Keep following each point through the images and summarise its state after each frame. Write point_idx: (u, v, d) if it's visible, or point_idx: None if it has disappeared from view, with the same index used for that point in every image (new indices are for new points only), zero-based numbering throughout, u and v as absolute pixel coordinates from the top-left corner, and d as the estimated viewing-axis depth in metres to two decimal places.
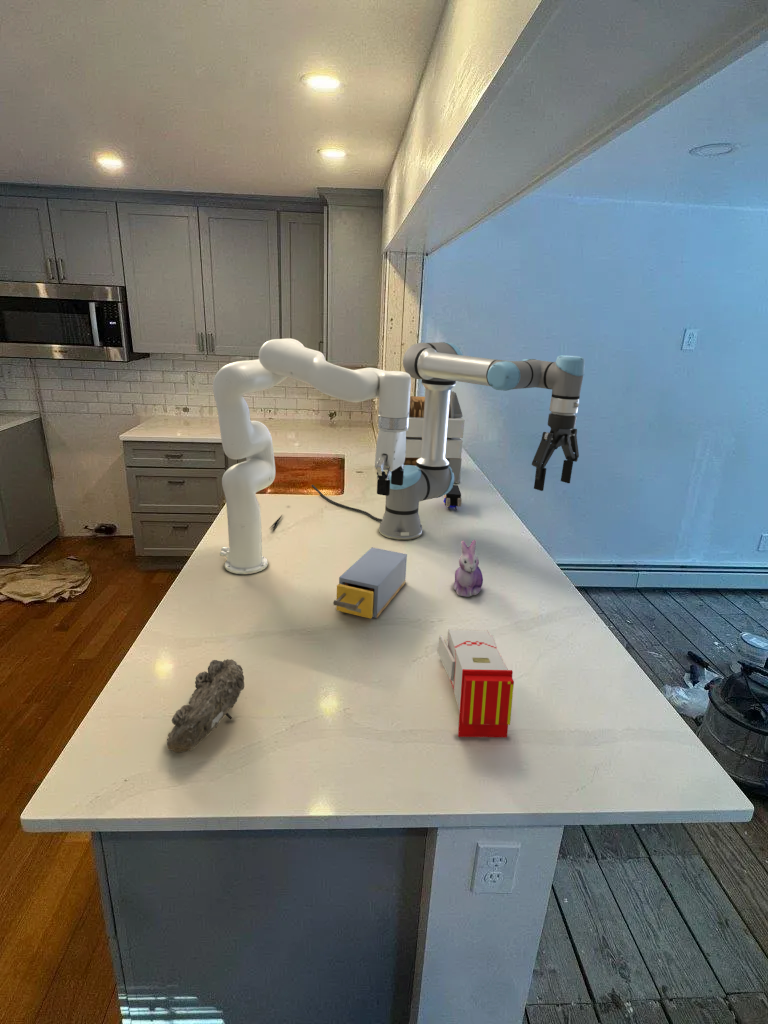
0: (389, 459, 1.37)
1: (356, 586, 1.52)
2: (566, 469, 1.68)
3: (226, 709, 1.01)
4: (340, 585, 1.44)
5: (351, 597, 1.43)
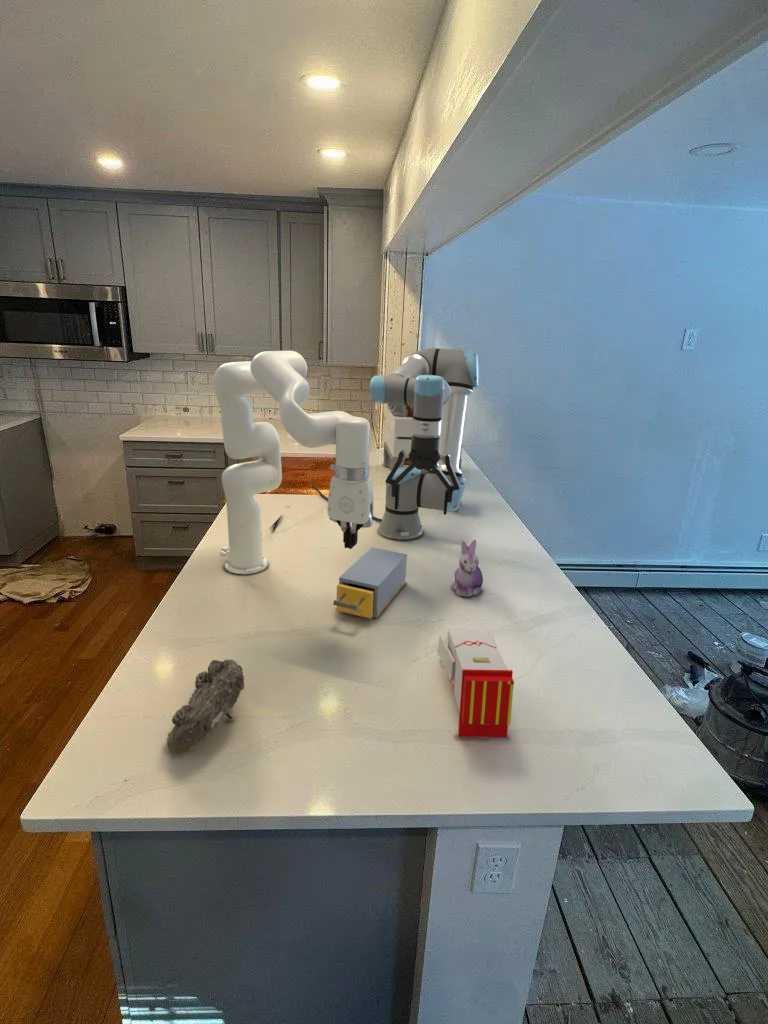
0: (373, 506, 1.31)
1: (356, 586, 1.52)
2: None
3: (226, 709, 1.01)
4: (340, 585, 1.44)
5: (351, 597, 1.43)
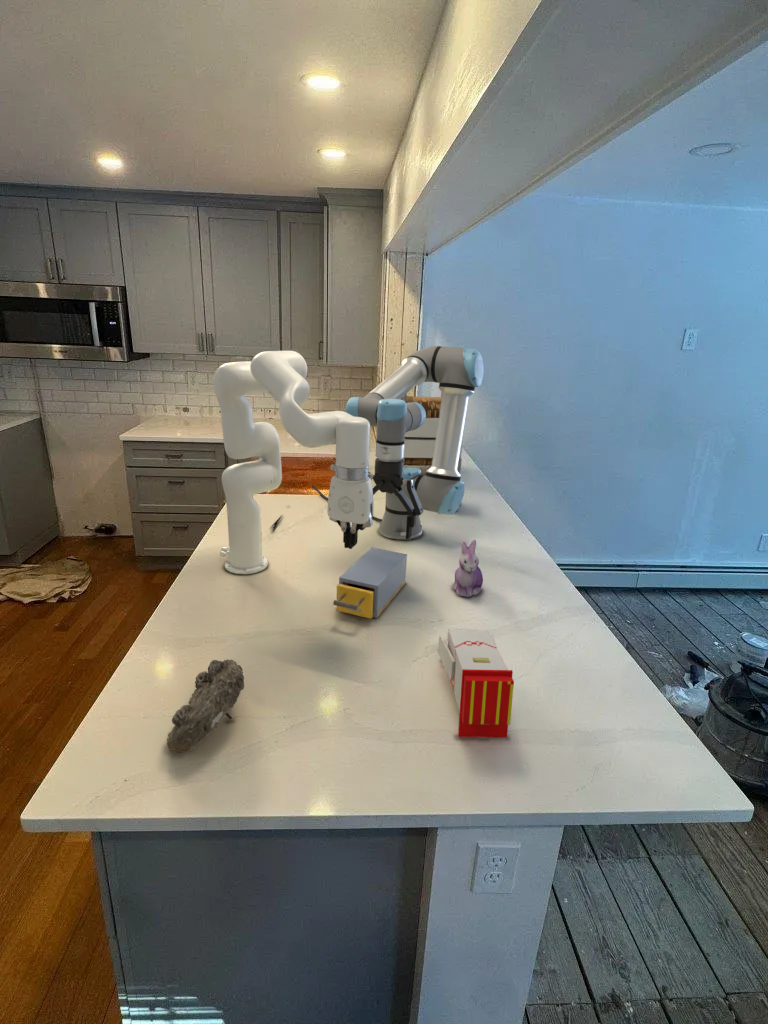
0: (373, 506, 1.31)
1: (356, 586, 1.52)
2: None
3: (226, 709, 1.01)
4: (340, 585, 1.44)
5: (351, 597, 1.43)
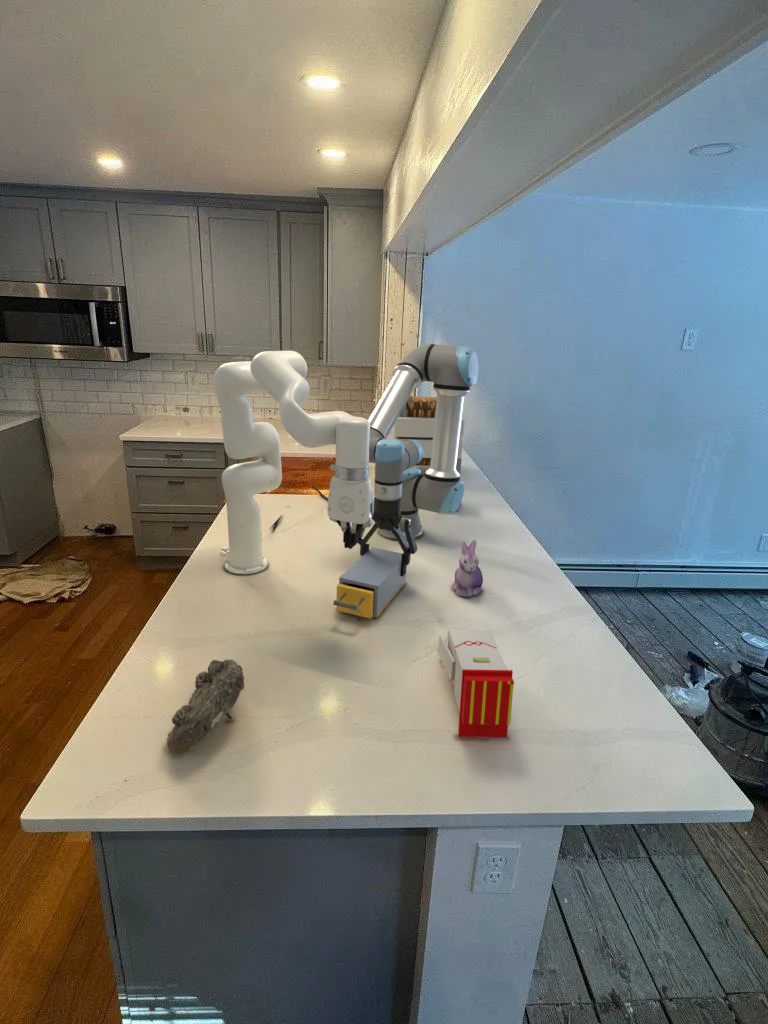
0: (373, 506, 1.31)
1: (356, 586, 1.52)
2: None
3: (226, 709, 1.01)
4: (340, 585, 1.44)
5: (351, 597, 1.43)
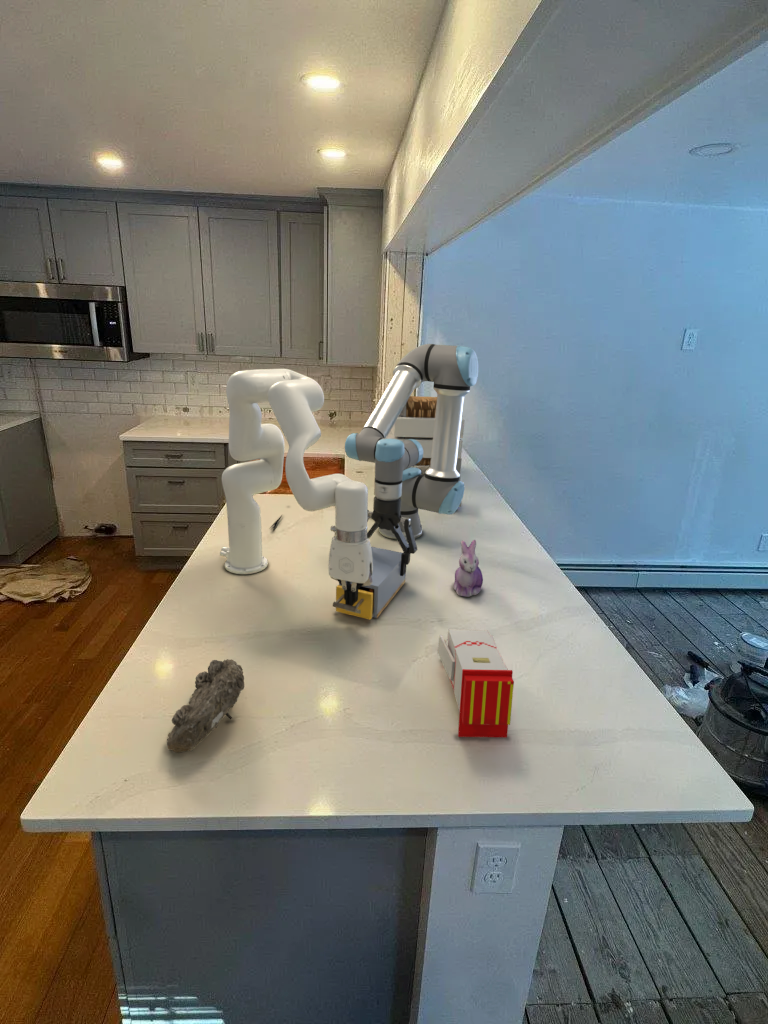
0: (372, 565, 1.35)
1: None
2: None
3: (226, 709, 1.01)
4: (339, 586, 1.43)
5: None
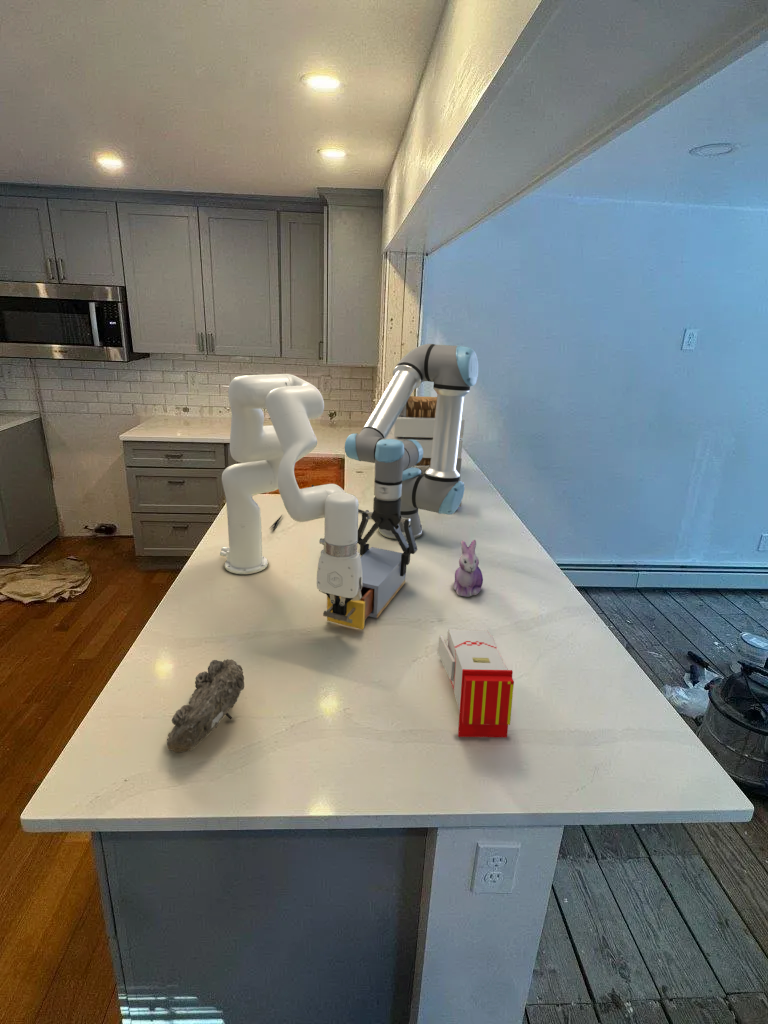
0: (362, 580, 1.32)
1: None
2: None
3: (226, 709, 1.01)
4: None
5: None
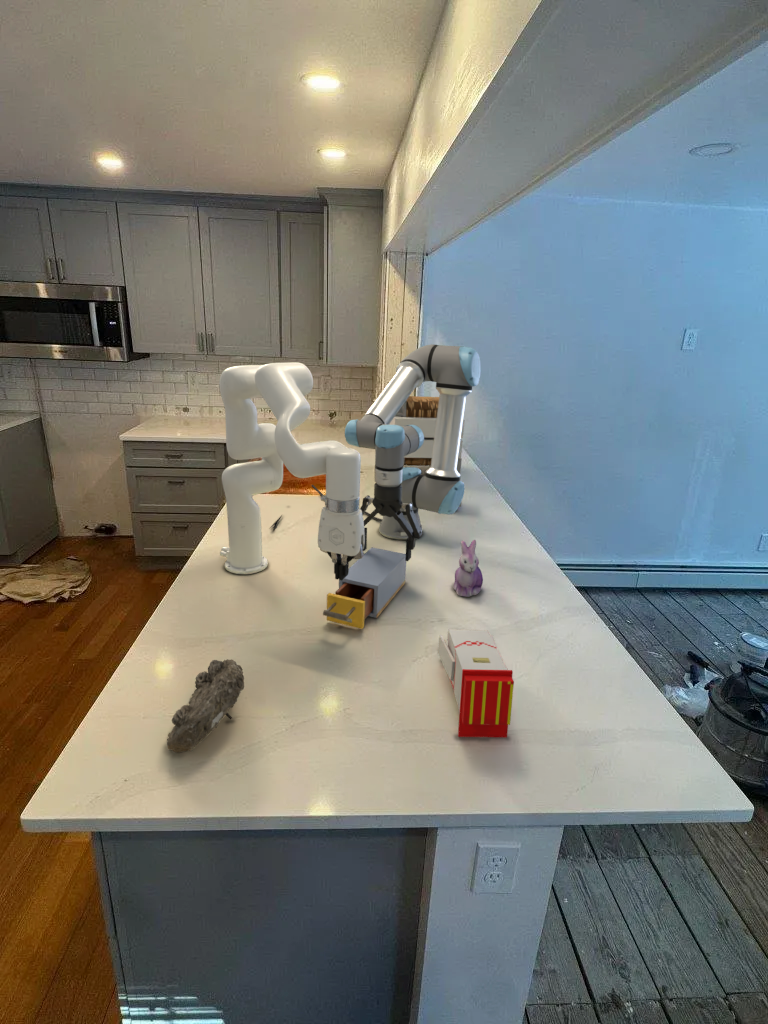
0: (364, 538, 1.29)
1: (347, 595, 1.47)
2: None
3: (226, 709, 1.01)
4: (330, 594, 1.39)
5: (342, 607, 1.38)
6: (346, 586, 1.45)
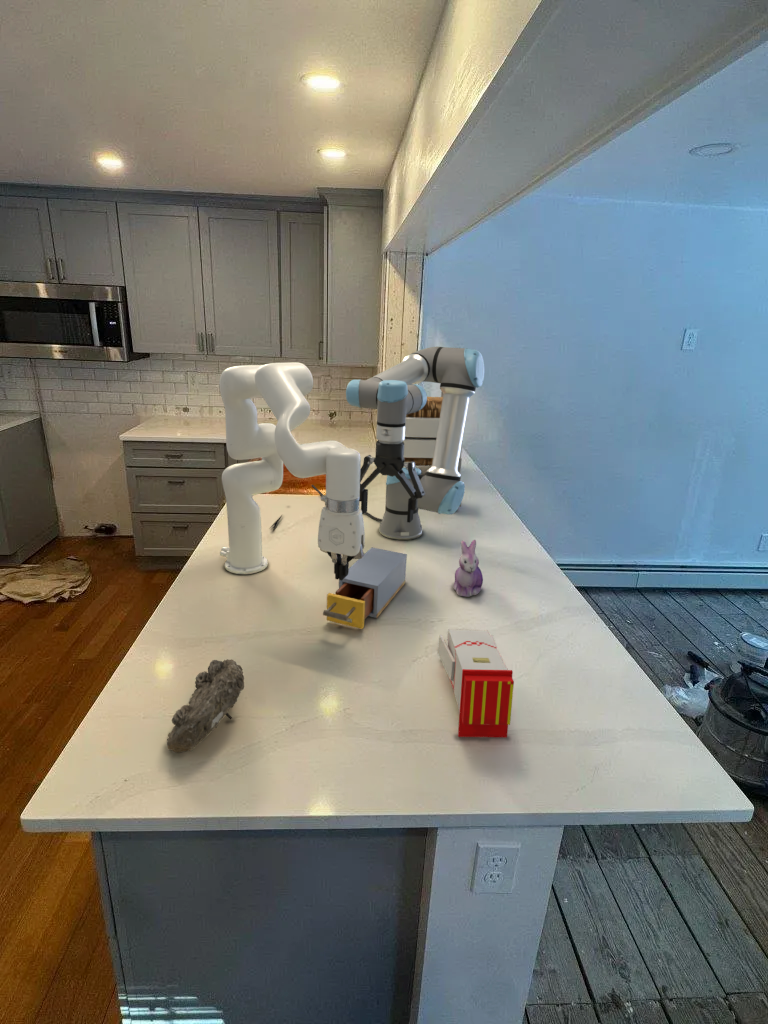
0: (364, 538, 1.29)
1: (347, 595, 1.47)
2: None
3: (226, 709, 1.01)
4: (330, 594, 1.39)
5: (342, 607, 1.38)
6: (346, 586, 1.45)
